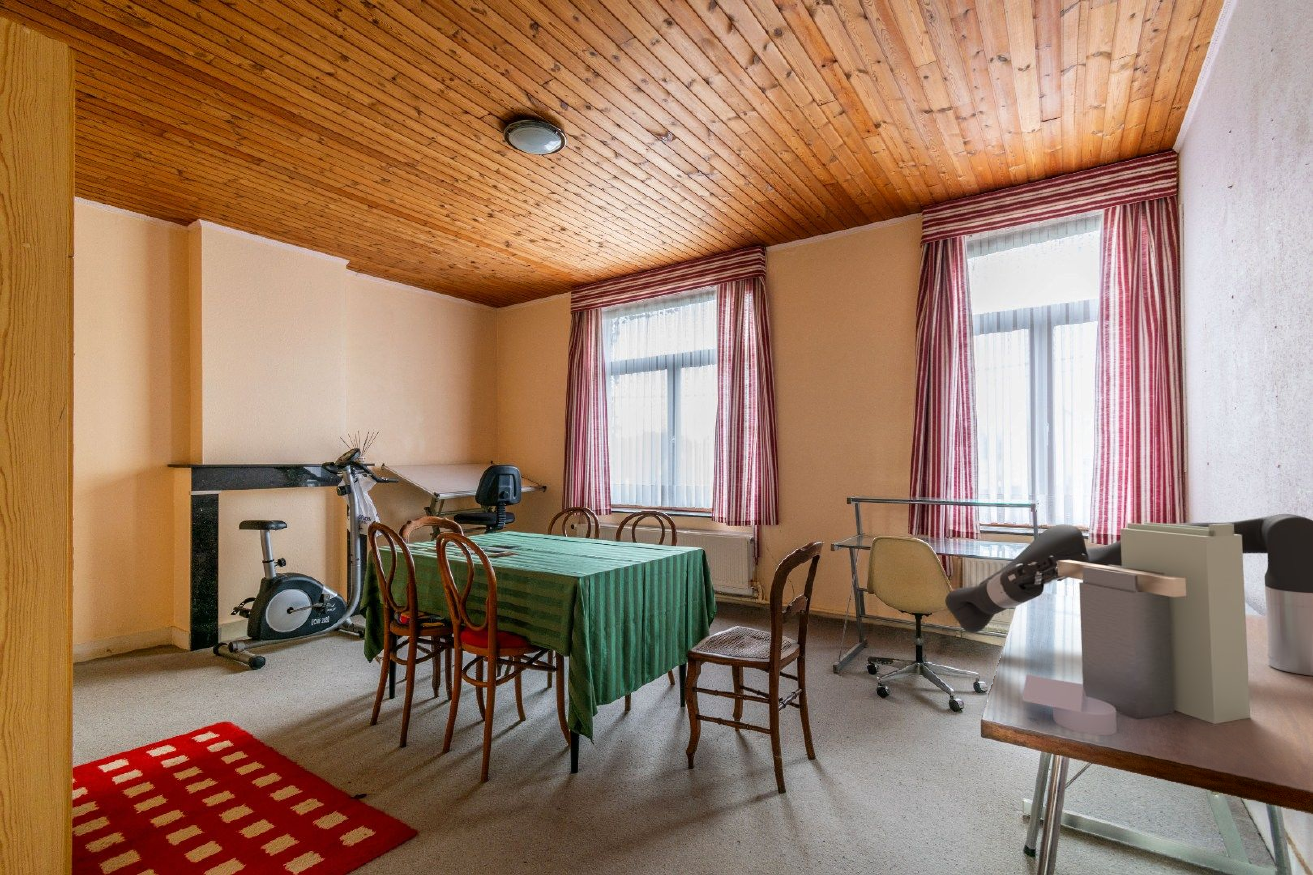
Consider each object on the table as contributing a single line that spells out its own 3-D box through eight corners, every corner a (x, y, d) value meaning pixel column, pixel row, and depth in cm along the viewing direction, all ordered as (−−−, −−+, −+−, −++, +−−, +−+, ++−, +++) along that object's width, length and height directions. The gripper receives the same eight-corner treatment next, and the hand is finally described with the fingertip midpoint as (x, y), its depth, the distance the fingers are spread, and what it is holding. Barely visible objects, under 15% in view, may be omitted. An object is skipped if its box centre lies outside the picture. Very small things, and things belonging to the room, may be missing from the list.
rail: (1058, 575, 128) (1057, 560, 128) (1069, 574, 129) (1068, 559, 129) (1173, 597, 107) (1172, 579, 107) (1186, 595, 108) (1185, 578, 108)
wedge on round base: (1023, 719, 110) (1114, 739, 102) (1022, 681, 110) (1113, 697, 102) (1031, 704, 117) (1118, 721, 109) (1030, 668, 117) (1116, 682, 109)
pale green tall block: (1126, 693, 122) (1119, 518, 124) (1160, 688, 125) (1153, 516, 126) (1214, 723, 108) (1205, 525, 109) (1250, 717, 110) (1241, 523, 112)
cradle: (1083, 698, 120) (1078, 566, 121) (1118, 693, 122) (1113, 564, 123) (1136, 719, 110) (1131, 575, 111) (1173, 712, 113) (1168, 572, 114)
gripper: (1047, 600, 140) (1106, 574, 127) (995, 605, 136) (1051, 579, 123) (1031, 568, 144) (1087, 540, 131) (981, 572, 140) (1034, 543, 127)
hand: (1070, 559), depth 127 cm, fingers open, 8 cm apart
